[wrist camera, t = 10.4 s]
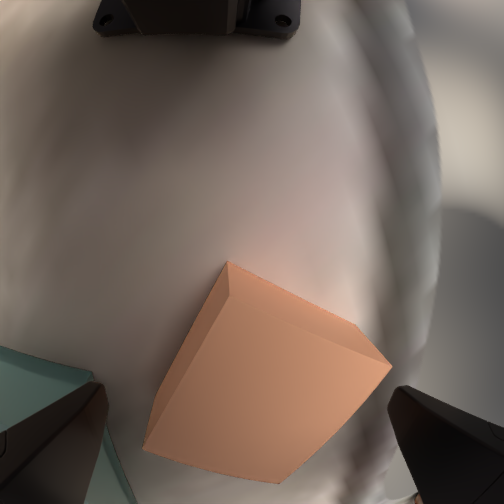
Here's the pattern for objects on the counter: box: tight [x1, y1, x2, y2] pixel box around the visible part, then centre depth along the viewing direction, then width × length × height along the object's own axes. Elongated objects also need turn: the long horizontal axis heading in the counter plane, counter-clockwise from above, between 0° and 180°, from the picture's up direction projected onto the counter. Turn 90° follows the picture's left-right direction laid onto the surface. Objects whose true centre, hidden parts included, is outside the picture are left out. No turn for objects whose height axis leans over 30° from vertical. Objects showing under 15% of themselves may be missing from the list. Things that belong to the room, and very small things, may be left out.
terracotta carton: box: [142, 261, 392, 484], centre depth 8 cm, size 6×5×3 cm
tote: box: [0, 346, 138, 504], centre depth 8 cm, size 14×14×4 cm
